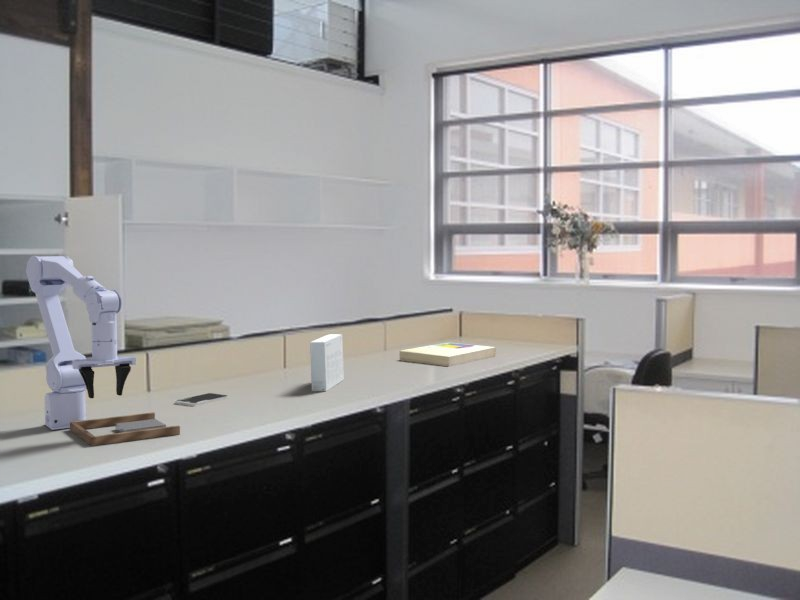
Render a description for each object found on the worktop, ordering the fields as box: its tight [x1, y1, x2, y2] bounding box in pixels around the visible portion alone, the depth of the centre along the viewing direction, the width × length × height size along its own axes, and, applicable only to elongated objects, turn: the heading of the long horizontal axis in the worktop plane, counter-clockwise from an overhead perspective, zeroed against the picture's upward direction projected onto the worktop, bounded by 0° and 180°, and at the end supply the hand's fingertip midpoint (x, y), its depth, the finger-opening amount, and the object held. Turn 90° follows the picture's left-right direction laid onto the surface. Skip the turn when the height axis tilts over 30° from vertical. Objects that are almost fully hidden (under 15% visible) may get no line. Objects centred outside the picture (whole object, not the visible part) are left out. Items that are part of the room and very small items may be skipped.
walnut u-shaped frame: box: [69, 411, 181, 447], centre depth 203 cm, size 21×19×2 cm
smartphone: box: [174, 392, 229, 407], centre depth 243 cm, size 8×1×15 cm
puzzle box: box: [399, 342, 497, 367], centre depth 335 cm, size 36×5×24 cm
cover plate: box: [114, 418, 167, 433], centre depth 206 cm, size 10×8×2 cm
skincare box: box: [309, 333, 345, 392], centre depth 270 cm, size 21×5×16 cm, turn 168°
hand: (105, 396), depth 200 cm, fingers open, 6 cm apart
